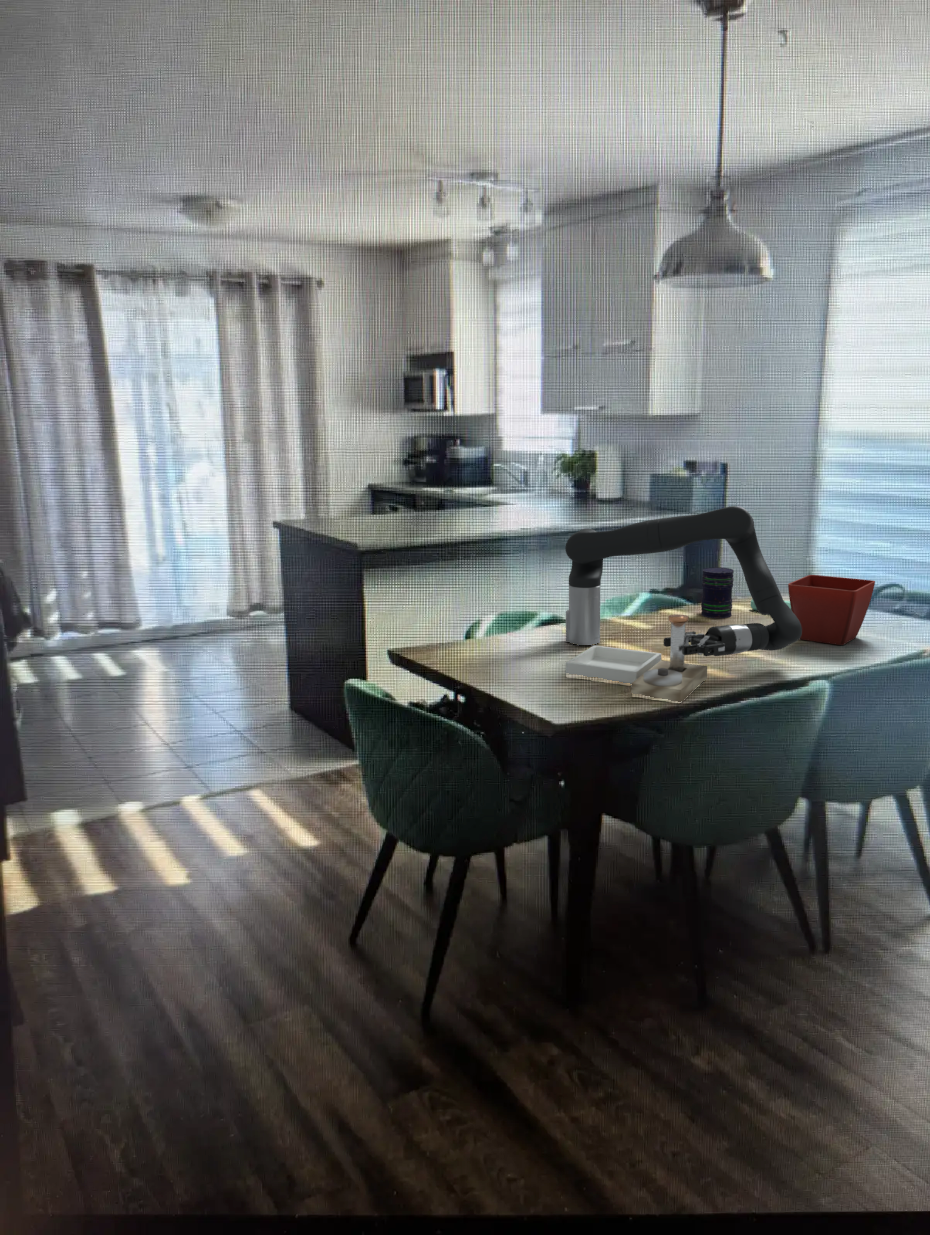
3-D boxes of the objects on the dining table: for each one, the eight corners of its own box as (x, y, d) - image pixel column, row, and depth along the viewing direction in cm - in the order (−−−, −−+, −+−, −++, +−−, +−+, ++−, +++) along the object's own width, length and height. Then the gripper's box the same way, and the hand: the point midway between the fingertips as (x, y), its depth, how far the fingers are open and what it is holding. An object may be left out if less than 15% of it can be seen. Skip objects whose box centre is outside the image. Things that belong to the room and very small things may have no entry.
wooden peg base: (631, 697, 219) (631, 671, 218) (660, 673, 237) (661, 649, 236) (680, 704, 213) (681, 678, 212) (706, 679, 231) (707, 655, 230)
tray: (565, 677, 235) (565, 662, 234) (593, 659, 251) (594, 645, 250) (636, 687, 226) (636, 672, 225) (660, 668, 242) (661, 653, 241)
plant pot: (806, 627, 281) (810, 573, 277) (871, 636, 269) (876, 580, 265) (783, 640, 266) (786, 583, 263) (851, 650, 255) (855, 591, 251)
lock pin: (664, 683, 229) (666, 617, 225) (670, 678, 233) (672, 613, 229) (682, 686, 226) (685, 619, 222) (688, 681, 230) (691, 615, 226)
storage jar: (694, 613, 303) (696, 568, 299) (720, 610, 305) (722, 566, 302) (711, 619, 293) (713, 573, 290) (738, 616, 296) (740, 571, 293)
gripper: (712, 619, 238) (658, 625, 233) (747, 631, 225) (690, 638, 219) (711, 647, 240) (657, 654, 234) (745, 661, 227) (689, 668, 221)
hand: (673, 646), depth 227 cm, fingers open, 8 cm apart
